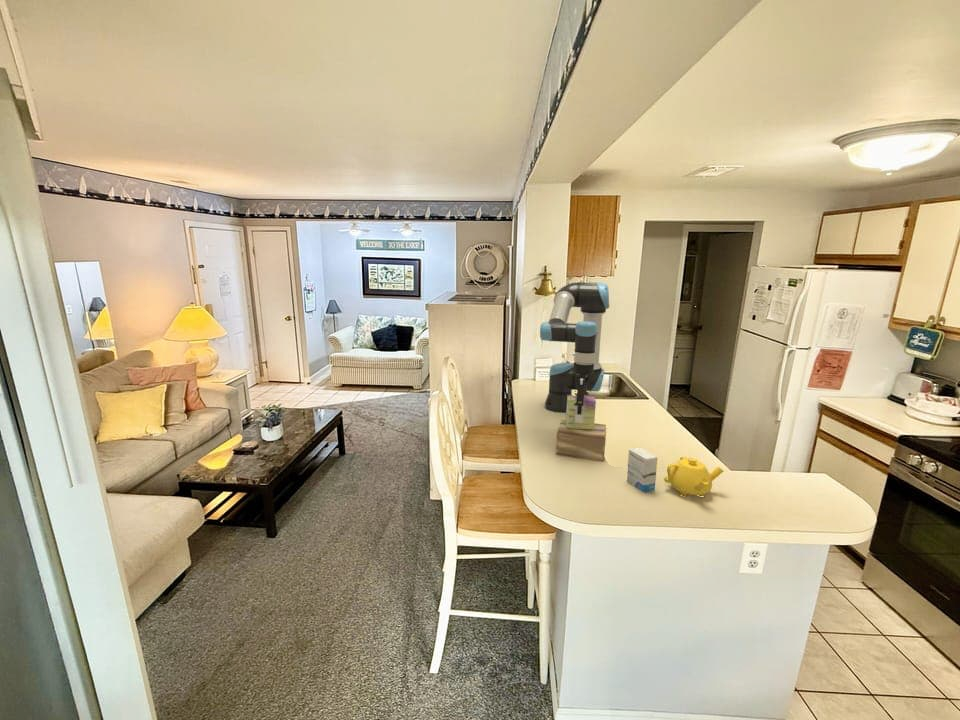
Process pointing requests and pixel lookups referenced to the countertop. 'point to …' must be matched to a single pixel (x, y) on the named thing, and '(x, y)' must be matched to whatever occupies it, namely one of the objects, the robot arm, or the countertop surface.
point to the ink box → (642, 469)
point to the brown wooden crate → (580, 446)
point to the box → (587, 413)
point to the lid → (583, 430)
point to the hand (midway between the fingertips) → (580, 416)
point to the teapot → (691, 476)
